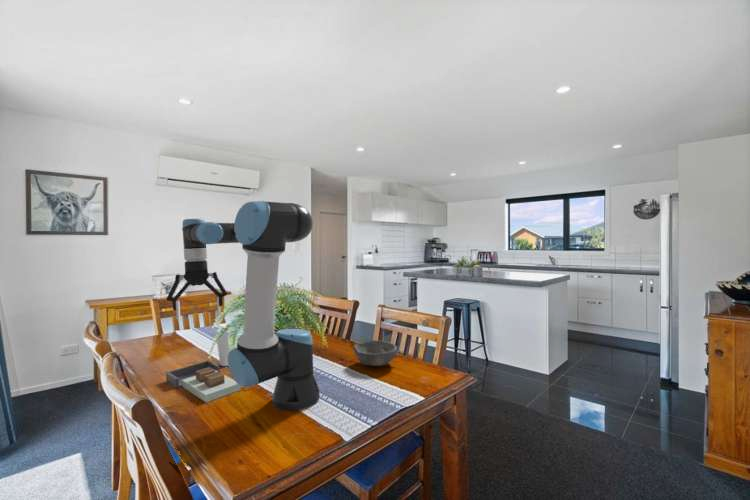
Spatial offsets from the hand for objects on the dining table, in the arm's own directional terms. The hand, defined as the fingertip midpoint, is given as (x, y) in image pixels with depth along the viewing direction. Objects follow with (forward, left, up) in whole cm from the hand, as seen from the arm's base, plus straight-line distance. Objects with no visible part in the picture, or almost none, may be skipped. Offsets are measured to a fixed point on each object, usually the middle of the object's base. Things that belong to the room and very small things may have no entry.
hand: (199, 317), depth 133 cm
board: (-9, +1, -25) cm, 26 cm away
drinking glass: (+10, -14, -25) cm, 31 cm away
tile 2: (-12, +1, -22) cm, 25 cm away
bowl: (-41, -53, -25) cm, 72 cm away
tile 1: (-5, +1, -22) cm, 23 cm away
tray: (+6, +1, -25) cm, 26 cm away
